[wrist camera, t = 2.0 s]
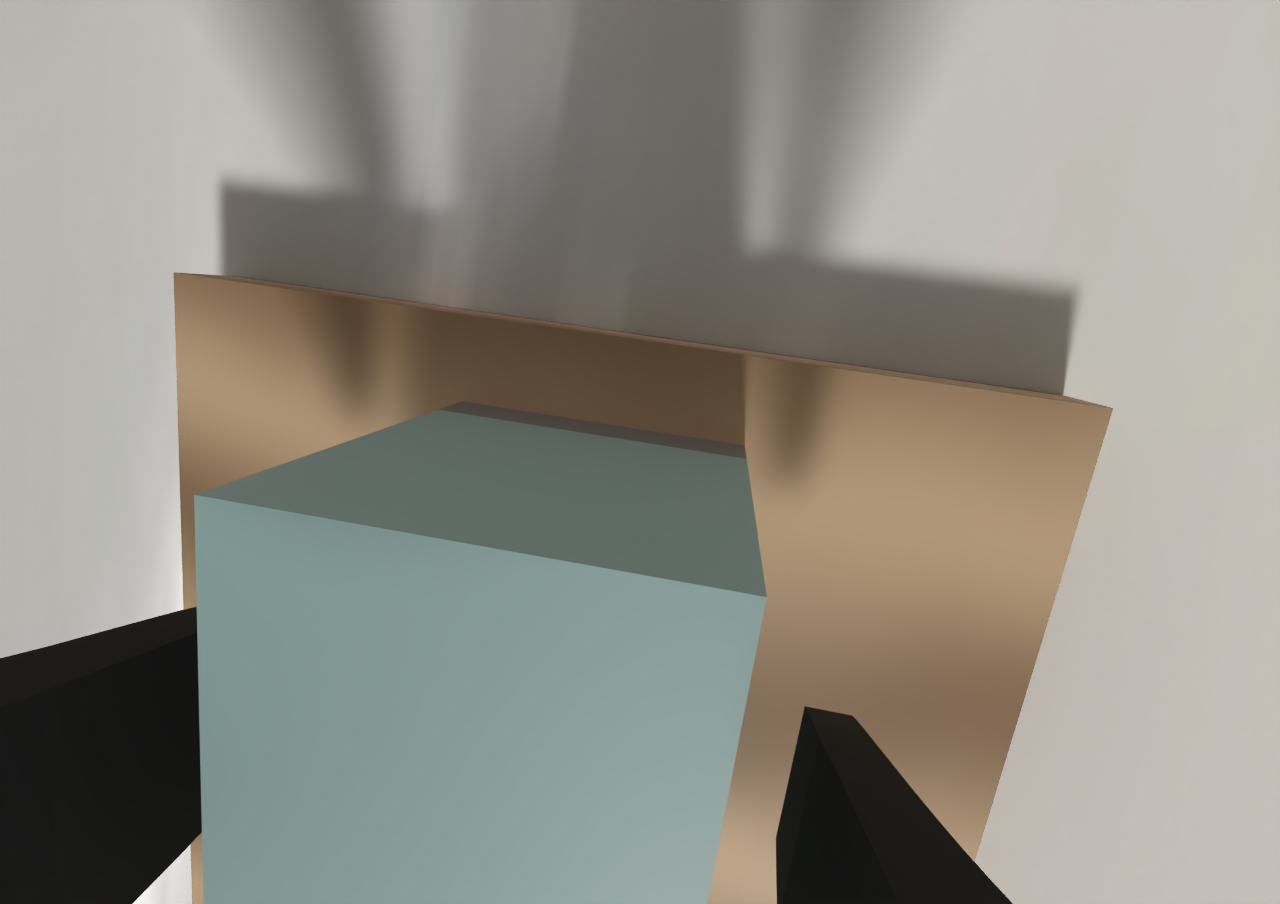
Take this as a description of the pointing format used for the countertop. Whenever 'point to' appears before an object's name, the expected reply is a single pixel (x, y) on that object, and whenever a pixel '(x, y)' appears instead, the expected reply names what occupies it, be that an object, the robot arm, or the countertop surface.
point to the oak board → (782, 497)
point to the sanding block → (475, 664)
